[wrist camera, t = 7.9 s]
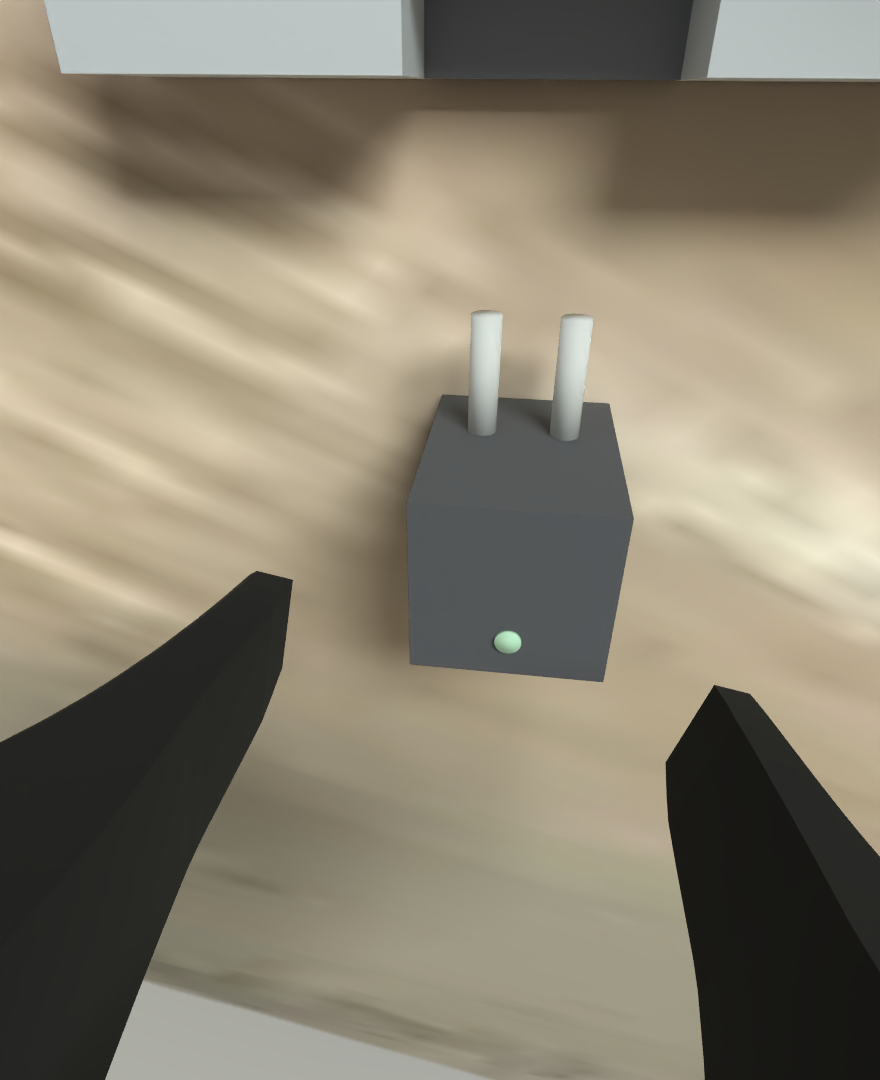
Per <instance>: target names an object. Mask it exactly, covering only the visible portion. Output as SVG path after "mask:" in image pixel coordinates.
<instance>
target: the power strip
mask: <svg viewBox="0 0 880 1080" xmlns="http://www.w3.org/2000/svg"><path fill="white" fill-rule="evenodd" d="M44 3H45V7H46V11H47V16H48V20H49V24H50V28H51V32H52V36H53V41H54V45H55V49H56V53H57V57H58V61H59V65H60V70H61V73H65V74H90V75H114V76H139V77H226V78H369V79H512V80H655V81H797V82H880V0H44Z"/></svg>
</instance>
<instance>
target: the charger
mask: <svg viewBox="0 0 880 1080" xmlns="http://www.w3.org/2000/svg"><path fill="white" fill-rule="evenodd" d="M502 318H503V314H502V313H500V312H497V311H492V310H480V311H475V312H473V313H472V314H471V344H470V375H469V396H456V395H442V397H441V400H440V403H439V406H438V409H437V412H436V415H435V418H434V422H433V425H432V428H431V431H430V434H429V437H428V440H427V443H426V446H425V449H424V452H423V455H422V458H421V461H420V464H419V467H418V470H417V473H416V476H415V479H414V482H413V485H412V488H411V491H410V494H409V497H408V500H407V503H406V505H407V551H408V597H409V643H410V664H412V665H423V666H434V667H445V668H456V669H466V670H477V671H488V672H499V673H509V674H520V675H531V676H542V677H553V678H563V679H574V680H585V681H596V682H603V680H604V675H605V669H606V664H607V659H608V653H609V648H610V643H611V637H612V632H613V627H614V621H615V616H616V610H617V605H618V600H619V594H620V589H621V584H622V578H623V573H624V568H625V562H626V557H627V552H628V546H629V541H630V536H631V530H632V525H633V519H634V518H633V513H632V508H631V504H630V499H629V494H628V490H627V485H626V480H625V476H624V471H623V466H622V462H621V457H620V452H619V448H618V443H617V438H616V433H615V429H614V424H613V419H612V415H611V410H610V405H609V404H607V403H588V402H583V398H584V390H585V382H586V374H587V366H588V358H589V350H590V343H591V335H592V327H593V317H591V316H588V315H584V314H566V315H563V316H562V317H561V326H560V336H559V346H558V356H557V366H556V376H555V386H554V395H553V401H550V400H531V399H512V398H498V390H499V372H500V354H501V336H502Z"/></svg>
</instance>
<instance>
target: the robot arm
mask: <svg viewBox="0 0 880 1080" xmlns="http://www.w3.org/2000/svg"><path fill="white" fill-rule="evenodd" d="M292 582H293V580H291V579H287V578H283V577H279V576H275V575H271V574H267V573H263V572H259V571H256V572H254V573H252V574H250V575H249V576H248V577H247V578H245V579H244V580H243V581H242V582H241V583H240V584H239V585H237V586H236V587H235V588H234V589H233V590H232V591H230V592H229V593H228V594H227V595H226V596H225V597H223V598H222V599H221V600H220V601H219V602H217V603H216V604H215V605H214V606H212V607H211V608H210V609H209V610H208V611H206V612H205V613H204V614H203V615H201V616H200V617H199V618H198V619H196V620H195V621H194V622H192V623H191V624H190V625H188V626H187V627H186V628H184V629H183V630H182V631H180V632H179V633H178V634H177V635H175V636H174V637H173V638H171V639H170V640H169V641H167V642H166V643H165V644H163V645H162V646H160V647H159V648H158V649H156V650H155V651H153V652H152V653H151V654H149V655H148V656H146V657H145V658H143V659H142V660H140V661H139V662H137V663H136V664H134V665H133V666H131V667H130V668H128V669H127V670H125V671H124V672H123V673H121V674H120V675H118V676H117V677H115V678H114V679H112V680H111V681H109V682H107V683H106V684H104V685H103V686H101V687H99V688H98V689H96V690H95V691H93V692H91V693H90V694H88V695H86V696H85V697H83V698H81V699H80V700H78V701H76V702H74V703H73V704H71V705H69V706H67V707H66V708H64V709H62V710H60V711H59V712H57V713H55V714H53V715H52V716H50V717H48V718H46V719H44V720H42V721H41V722H39V723H37V724H35V725H33V726H31V727H29V728H27V729H25V730H23V731H21V732H19V733H17V734H16V735H14V736H12V737H10V738H8V739H6V740H4V741H2V742H0V1080H105V1078H106V1076H107V1073H108V1070H109V1068H110V1065H111V1062H112V1060H113V1057H114V1054H115V1052H116V1049H117V1046H118V1044H119V1041H120V1038H121V1036H122V1033H123V1031H124V1028H125V1025H126V1022H127V1020H128V1017H129V1014H130V1012H131V1009H132V1007H133V1004H134V1002H135V999H136V996H137V994H138V991H139V989H140V986H141V984H142V981H143V978H144V976H145V973H146V971H147V968H148V966H149V963H150V961H151V958H152V956H153V953H154V950H155V948H156V945H157V943H158V940H159V938H160V935H161V933H162V930H163V928H164V925H165V923H166V920H167V918H168V915H169V913H170V910H171V908H172V905H173V903H174V900H175V898H176V896H177V893H178V891H179V888H180V886H181V883H182V881H183V878H184V876H185V873H186V871H187V869H188V866H189V864H190V862H191V860H192V858H193V856H194V853H195V851H196V849H197V847H198V845H199V843H200V841H201V839H202V837H203V835H204V833H205V831H206V829H207V827H208V825H209V823H210V821H211V819H212V817H213V815H214V813H215V812H216V810H217V808H218V806H219V804H220V802H221V800H222V798H223V796H224V794H225V792H226V790H227V788H228V786H229V785H230V783H231V781H232V779H233V777H234V775H235V773H236V771H237V769H238V767H239V765H240V763H241V761H242V759H243V757H244V755H245V754H246V752H247V750H248V748H249V746H250V744H251V742H252V740H253V738H254V736H255V734H256V732H257V730H258V728H259V726H260V724H261V722H262V720H263V717H264V715H265V712H266V709H267V707H268V704H269V702H270V699H271V696H272V694H273V691H274V688H275V686H276V683H277V680H278V677H279V675H280V672H281V669H282V664H283V656H284V648H285V640H286V632H287V623H288V615H289V607H290V599H291V591H292ZM666 789H667V808H668V822H669V828H670V834H671V840H672V846H673V851H674V857H675V863H676V868H677V874H678V879H679V884H680V890H681V895H682V901H683V906H684V911H685V917H686V922H687V928H688V933H689V938H690V944H691V949H692V955H693V960H694V967H695V974H696V981H697V988H698V998H699V1009H700V1021H701V1033H702V1045H703V1056H704V1072H705V1080H880V856H879V855H878V854H877V853H876V852H875V851H874V849H873V848H872V847H871V846H870V845H869V844H868V842H867V841H866V840H865V839H864V838H863V837H862V835H861V834H860V833H859V832H858V830H857V829H856V828H855V827H854V826H853V824H852V823H851V822H850V821H849V820H848V818H847V817H846V816H845V815H844V813H843V812H842V811H841V810H840V808H839V807H838V806H837V805H836V803H835V802H834V801H833V800H832V798H831V797H830V796H829V795H828V793H827V792H826V791H825V789H824V788H823V787H822V786H821V784H820V783H819V782H818V780H817V779H816V778H815V777H814V775H813V774H812V773H811V771H810V770H809V769H808V768H807V766H806V765H805V764H804V762H803V761H802V760H801V758H800V757H799V756H798V754H797V753H796V752H795V751H794V749H793V748H792V747H791V745H790V744H789V743H788V741H787V740H786V739H785V737H784V736H783V735H782V734H781V732H780V731H779V730H778V728H777V727H776V726H775V724H774V723H773V722H772V721H771V719H770V718H769V717H768V715H767V714H766V713H765V712H764V710H763V709H762V708H761V707H760V705H759V704H758V703H757V702H756V701H755V699H754V698H753V697H752V696H751V695H750V694H748V693H744V692H740V691H736V690H732V689H728V688H724V687H720V686H716V685H714V686H713V688H712V690H711V691H710V693H709V694H708V696H707V698H706V699H705V701H704V702H703V704H702V705H701V707H700V709H699V710H698V712H697V713H696V715H695V717H694V718H693V720H692V721H691V723H690V725H689V726H688V728H687V729H686V731H685V733H684V734H683V736H682V737H681V739H680V741H679V742H678V744H677V745H676V747H675V748H674V750H673V752H672V753H671V755H670V756H669V758H668V760H667V761H666Z"/></svg>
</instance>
